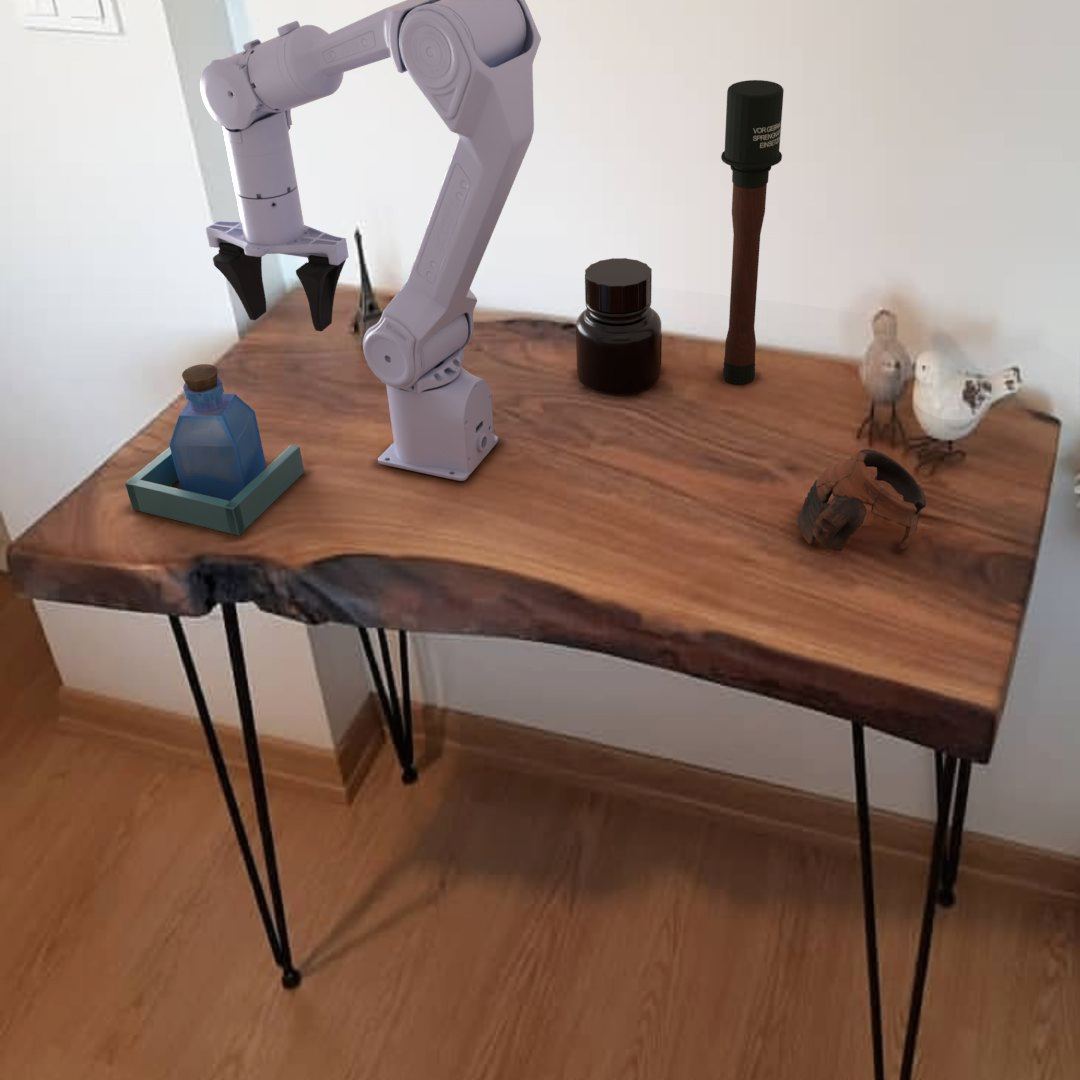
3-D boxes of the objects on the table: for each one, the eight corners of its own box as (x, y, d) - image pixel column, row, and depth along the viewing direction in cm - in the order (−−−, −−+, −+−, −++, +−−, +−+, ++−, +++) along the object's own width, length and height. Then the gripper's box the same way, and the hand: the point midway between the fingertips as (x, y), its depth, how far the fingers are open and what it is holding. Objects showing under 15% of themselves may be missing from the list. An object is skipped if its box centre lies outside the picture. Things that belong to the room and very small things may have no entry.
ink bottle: (678, 368, 132) (681, 264, 124) (639, 406, 126) (640, 298, 119) (599, 349, 136) (598, 247, 129) (558, 384, 130) (554, 279, 123)
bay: (304, 472, 119) (299, 446, 117) (239, 536, 111) (232, 509, 109) (203, 449, 123) (196, 424, 121) (132, 509, 115) (124, 483, 113)
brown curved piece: (810, 494, 113) (865, 428, 108) (889, 563, 111) (950, 499, 106) (761, 533, 103) (819, 463, 98) (847, 610, 101) (911, 542, 96)
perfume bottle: (266, 465, 120) (243, 356, 113) (247, 502, 115) (222, 390, 108) (205, 464, 120) (178, 355, 113) (184, 500, 116) (154, 389, 108)
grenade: (729, 395, 127) (745, 100, 109) (701, 372, 131) (712, 84, 113) (776, 382, 128) (799, 90, 110) (747, 359, 133) (765, 74, 115)
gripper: (175, 195, 113) (206, 328, 121) (310, 212, 108) (333, 350, 116) (220, 168, 118) (246, 298, 126) (350, 184, 113) (369, 317, 121)
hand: (290, 321), depth 122 cm, fingers open, 7 cm apart
